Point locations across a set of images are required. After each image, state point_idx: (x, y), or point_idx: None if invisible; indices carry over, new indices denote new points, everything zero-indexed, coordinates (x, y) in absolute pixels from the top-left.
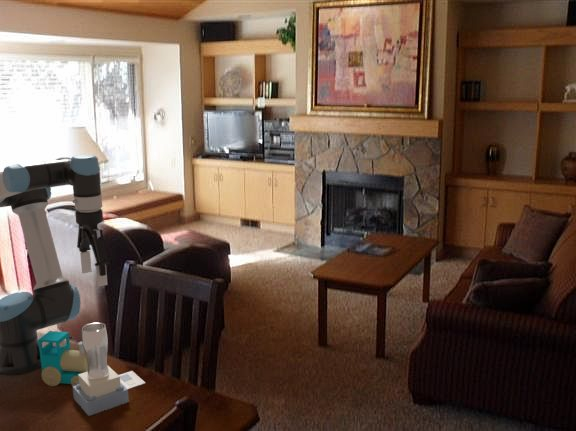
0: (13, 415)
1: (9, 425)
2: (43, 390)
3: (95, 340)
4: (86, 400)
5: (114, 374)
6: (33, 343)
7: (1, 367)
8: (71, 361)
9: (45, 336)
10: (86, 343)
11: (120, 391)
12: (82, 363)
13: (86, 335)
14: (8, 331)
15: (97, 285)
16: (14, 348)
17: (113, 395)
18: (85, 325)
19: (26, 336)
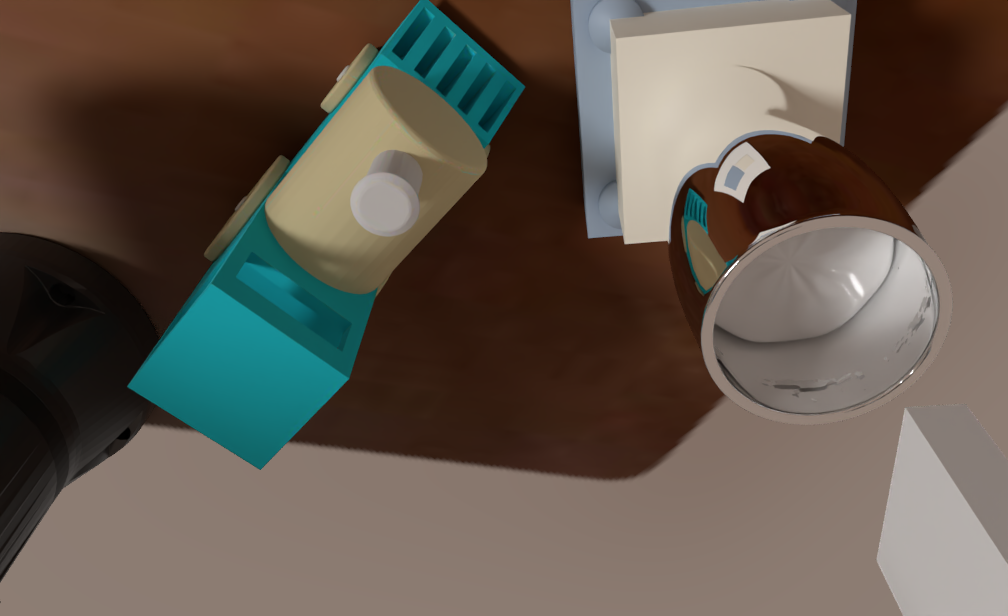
0: (570, 448)
1: (645, 470)
2: (402, 310)
3: (909, 300)
4: None
5: (792, 38)
6: (21, 370)
7: (110, 455)
8: (419, 239)
9: (222, 426)
10: (840, 347)
11: (851, 7)
12: (475, 181)
13: (867, 386)
14: (9, 565)
15: (884, 570)
16: (72, 466)
17: (849, 57)
18: (721, 378)
19: (21, 446)
